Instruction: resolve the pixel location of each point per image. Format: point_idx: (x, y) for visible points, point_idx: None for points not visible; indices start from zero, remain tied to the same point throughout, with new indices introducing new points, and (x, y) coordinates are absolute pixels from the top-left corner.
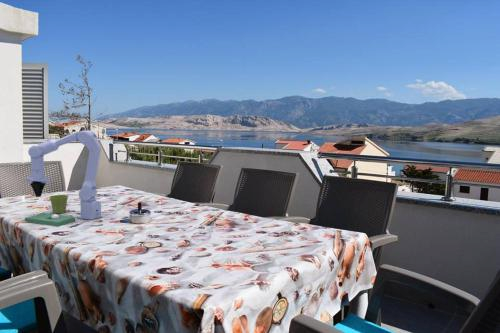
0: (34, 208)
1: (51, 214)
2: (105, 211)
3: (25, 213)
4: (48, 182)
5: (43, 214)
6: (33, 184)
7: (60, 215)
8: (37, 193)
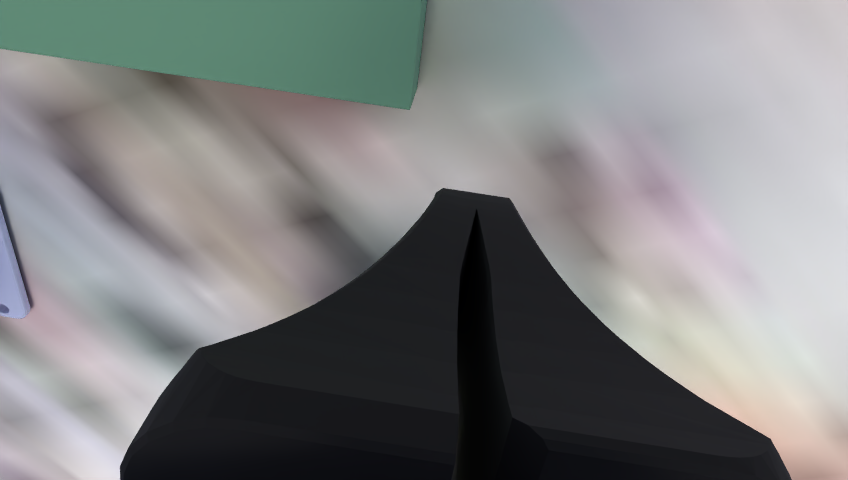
0: (838, 432)
1: (225, 62)
2: (26, 447)
3: (821, 200)
4: None
5: (339, 24)
6: (508, 433)
7: (50, 43)
8: (414, 225)
